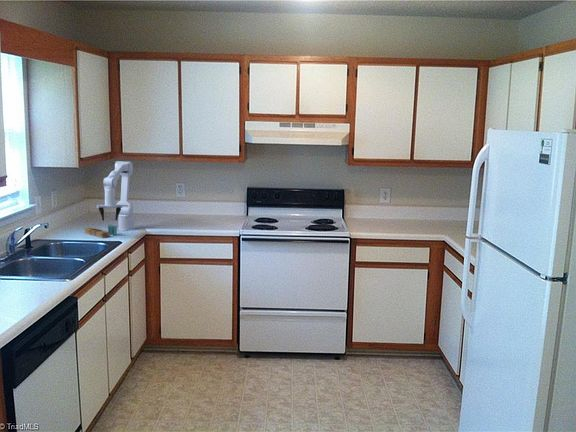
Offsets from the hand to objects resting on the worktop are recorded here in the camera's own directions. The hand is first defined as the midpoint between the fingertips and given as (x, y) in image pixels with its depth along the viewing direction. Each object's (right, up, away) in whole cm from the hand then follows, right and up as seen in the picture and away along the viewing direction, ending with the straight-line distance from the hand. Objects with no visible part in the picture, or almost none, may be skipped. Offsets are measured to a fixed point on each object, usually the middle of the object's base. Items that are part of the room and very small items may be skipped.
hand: (109, 220), depth 312 cm
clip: (-1, -9, +8) cm, 12 cm away
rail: (-10, -9, +6) cm, 15 cm away
